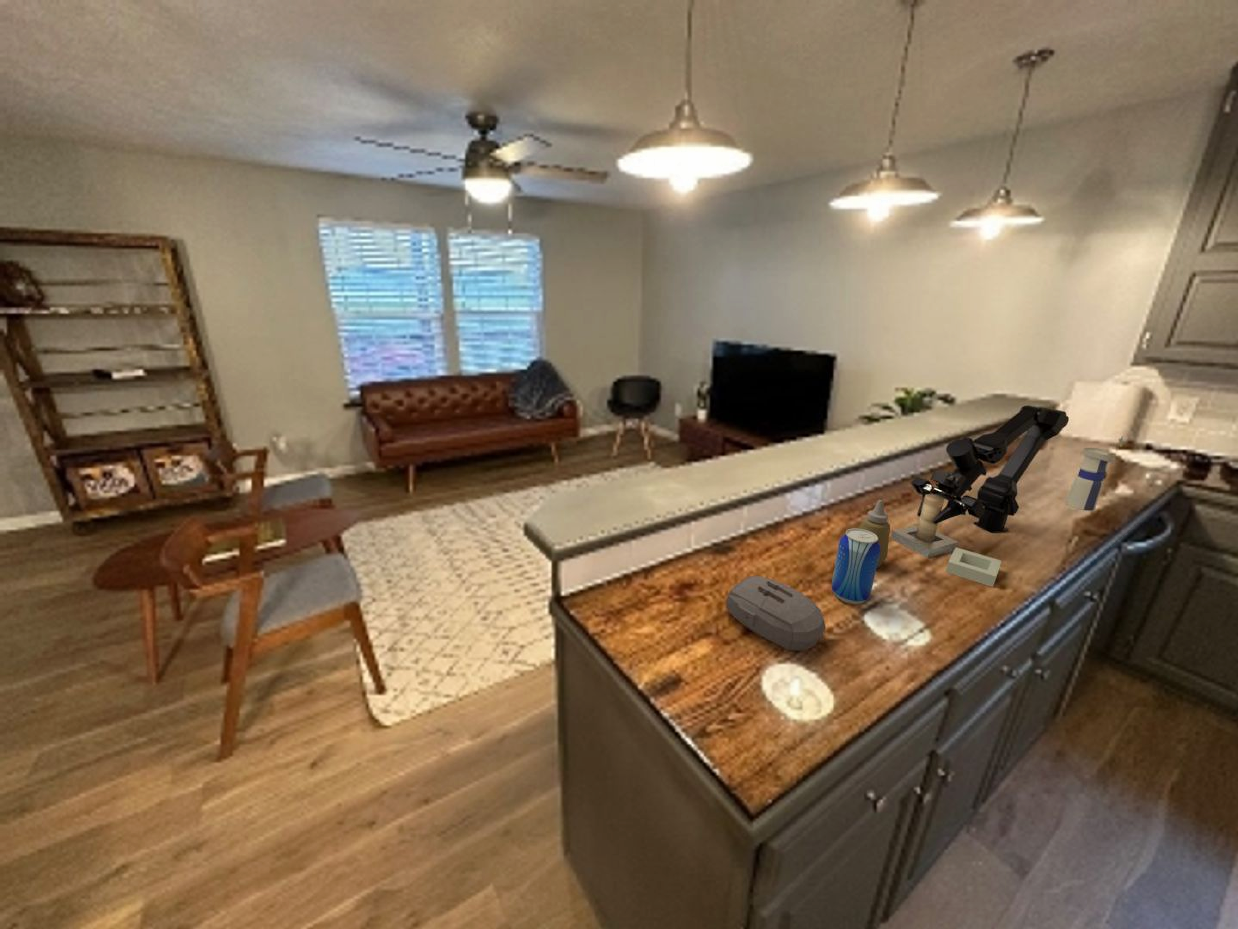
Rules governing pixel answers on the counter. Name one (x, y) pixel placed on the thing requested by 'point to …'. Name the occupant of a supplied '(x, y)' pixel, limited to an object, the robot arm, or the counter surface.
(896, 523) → the counter surface
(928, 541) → the tan rounded peg
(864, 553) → the beer can
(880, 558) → the squeeze bottle
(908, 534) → the socket block
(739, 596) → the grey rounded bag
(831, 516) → the counter surface
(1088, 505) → the water bottle
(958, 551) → the collar
